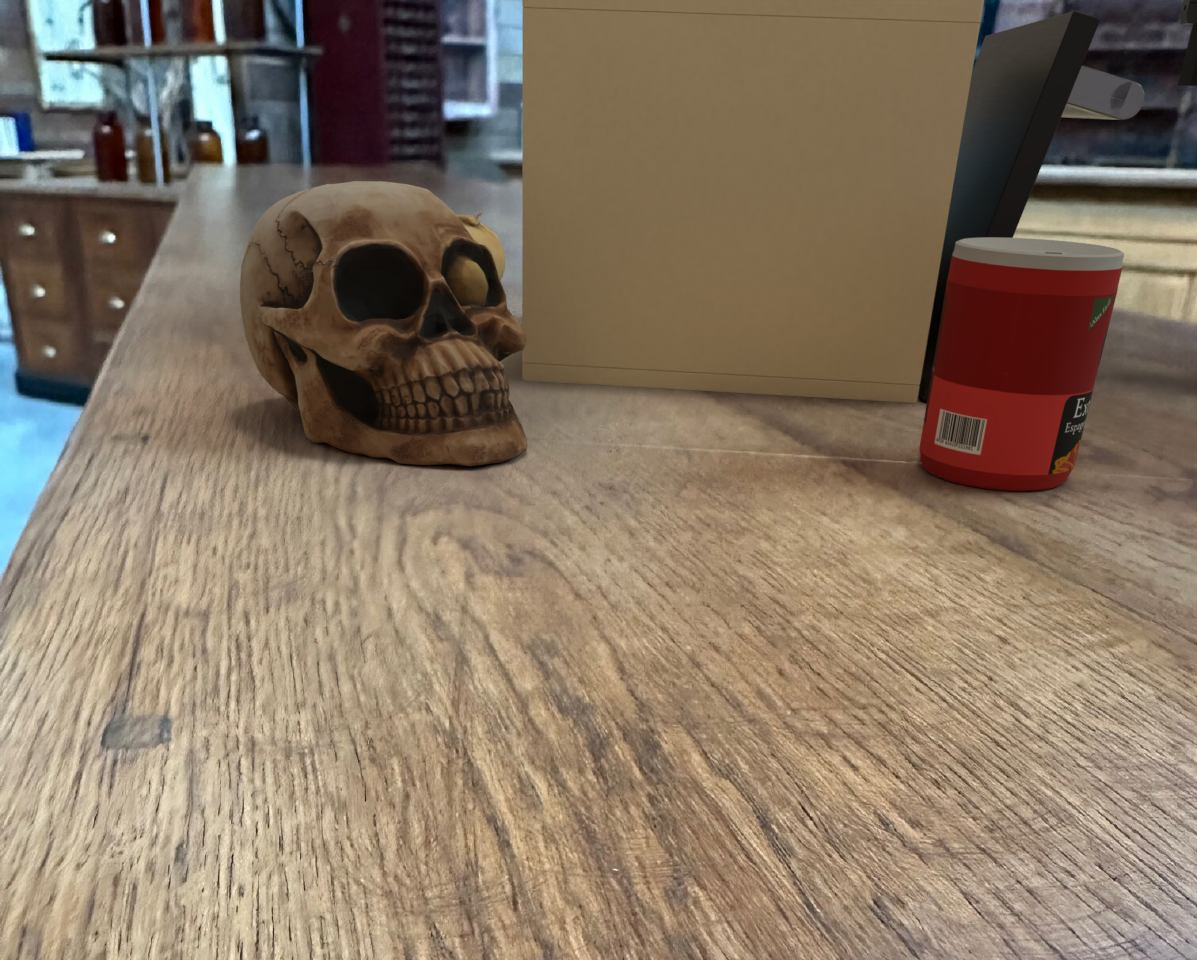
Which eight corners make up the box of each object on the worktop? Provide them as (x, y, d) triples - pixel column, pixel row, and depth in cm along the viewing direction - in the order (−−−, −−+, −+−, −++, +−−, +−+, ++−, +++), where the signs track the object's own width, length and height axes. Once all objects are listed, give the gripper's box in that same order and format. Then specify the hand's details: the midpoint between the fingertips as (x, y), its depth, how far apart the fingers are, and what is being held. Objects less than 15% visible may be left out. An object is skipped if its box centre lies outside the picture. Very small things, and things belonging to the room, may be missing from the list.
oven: (875, 332, 100) (920, 25, 89) (916, 404, 77) (985, -4, 65) (574, 316, 102) (580, 14, 91) (522, 381, 78) (522, -18, 67)
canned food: (1084, 498, 59) (1143, 258, 53) (921, 486, 60) (963, 249, 54) (1057, 459, 65) (1107, 242, 60) (911, 448, 66) (947, 234, 61)
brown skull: (506, 469, 59) (476, 168, 53) (194, 477, 63) (131, 195, 56) (574, 413, 73) (556, 168, 66) (314, 422, 76) (274, 190, 70)
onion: (407, 294, 111) (404, 210, 107) (444, 284, 117) (441, 204, 113) (486, 301, 108) (485, 215, 105) (518, 290, 115) (518, 209, 111)
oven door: (953, 350, 101) (1067, 60, 89) (1018, 427, 77) (1186, 44, 65) (879, 328, 100) (985, 35, 89) (921, 399, 76) (1073, 10, 65)
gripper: (1225, -435, 63) (1109, 80, 75) (1480, -432, 62) (1321, 89, 74) (1181, -386, 69) (1081, 82, 82) (1411, -382, 68) (1275, 90, 81)
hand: (1195, 85), depth 78 cm, fingers closed
